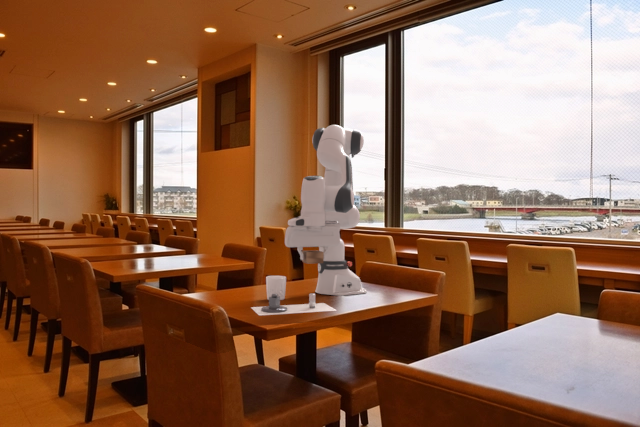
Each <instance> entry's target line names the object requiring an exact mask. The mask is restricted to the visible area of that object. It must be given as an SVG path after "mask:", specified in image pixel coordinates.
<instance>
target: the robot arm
mask: <svg viewBox="0 0 640 427" xmlns="http://www.w3.org/2000/svg"><path fill="white" fill-rule="evenodd" d="M311 139H312V140H311V141H312V147H313V149H314V150H315V151H316V157H317V160H318V162H319V164H321V165H322V167H324V168H325V170H324V176H322V175H308V176H305V177H303V179H302V184H301V190H300V191H301V192H300V202H301V210H300V215H299V216H297V217H292V218H291V219H288V221H287V225H288V226H287V228H286V229H285V233H284V234H285V235H284V245H285V247H287V248H297V252H298V254H299V256H300V257H299V259H300V261H302V260H305V259H306V258H305V257H306V255H304V254H303V253H302V251H304V249H303V248H313V247H315V248H317V247H318V251H322V252H324V254H323V263H317V271H318V272H317V273H318V276H317V284H316V288H315V294H316V293H317V294H319V295H320V294H321V295H328V296H329V295H331V296H340V297H341V296H352V295H360V294H367V289H365V288H364V287H362V280H361V279H360V278H361V277H359V276H358V275H357V274H356V273H354V272H353V271H352V270H350V269H349V267H352V261H347V260H346V259H345V252H346V251H345V248H346V247H345V246H346V245H345V242H344V240H343V239H342V238H341V234H340V231H341V230H347V229H352V228H356V227H357V225H359V222H360V219H361V215H360V211H359V209H358V207H357V206H356V205H355V194H354V187H353V186H354V185H353V167H352V161H351V158H352V159H353V158H354V157H355V156H356V155H358V154H360V153H361V151H362V148H363V146H364V136H363V132H362V131H361V130H358V129H355V128H353V129H351V128H345V127H342V126H340V125H338V124H331V125H328V126H327V127H326V128H325V127H319V128H317V129H316V130H314V132H313V135H312V138H311ZM350 155H351V157H350Z"/></svg>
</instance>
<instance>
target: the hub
mask: <svg viewBox="0 0 640 427" xmlns="http://www.w3.org/2000/svg"><path fill="white" fill-rule="evenodd" d="M261 307H262V308H261V310H262V311H263V312H268V313H279V312H285V311H287V307H284V306H281V300H280V297H278V296H277V294H272V296H271V297H269V299H268V305H266V307H264V306H261Z"/></svg>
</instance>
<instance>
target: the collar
mask: <svg viewBox="0 0 640 427" xmlns="http://www.w3.org/2000/svg"><path fill="white" fill-rule="evenodd" d="M301 251H302V253H303V254H304V255H306V257H305V258H306V259H305V260H301V261H302V263H304V264H311V265H312V264H313V265H314V264H318V263H323V254H324V252H322V251H319V249H318V250H316V249H315V250H301Z"/></svg>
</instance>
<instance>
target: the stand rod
mask: <svg viewBox="0 0 640 427" xmlns="http://www.w3.org/2000/svg"><path fill="white" fill-rule="evenodd" d="M308 297H309V298H308V304H309V308H315V304H316V293H309V294H308Z"/></svg>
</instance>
